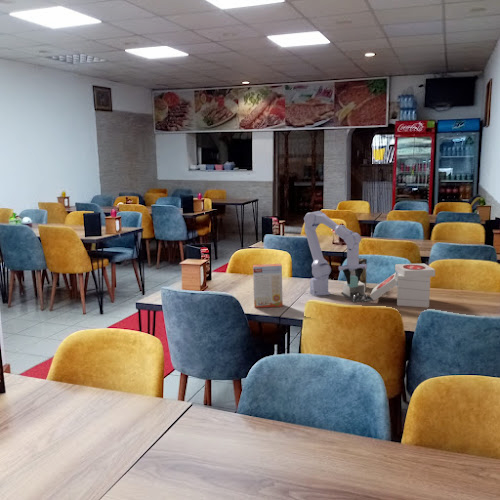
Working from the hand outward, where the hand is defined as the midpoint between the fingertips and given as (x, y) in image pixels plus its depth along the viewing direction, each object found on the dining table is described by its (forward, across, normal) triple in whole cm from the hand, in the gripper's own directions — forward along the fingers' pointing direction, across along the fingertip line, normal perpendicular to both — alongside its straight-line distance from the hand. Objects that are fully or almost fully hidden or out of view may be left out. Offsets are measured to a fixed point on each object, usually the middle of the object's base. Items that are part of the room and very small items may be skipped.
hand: (352, 283), depth 264 cm
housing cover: (+8, +4, +8) cm, 12 cm away
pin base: (+8, +4, +4) cm, 10 cm away
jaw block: (+2, 0, 0) cm, 2 cm away
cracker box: (+9, -44, +1) cm, 45 cm away
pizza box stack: (+9, +22, -10) cm, 26 cm away
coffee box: (+9, +12, +21) cm, 25 cm away
